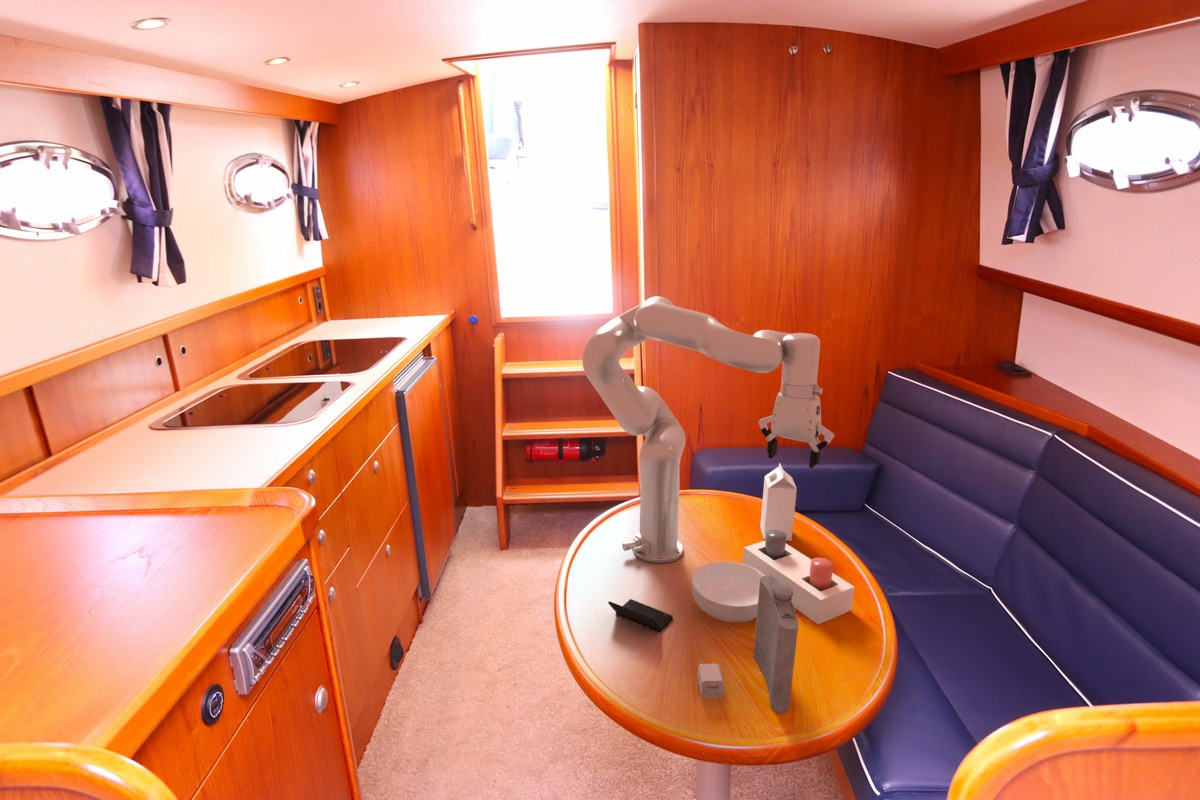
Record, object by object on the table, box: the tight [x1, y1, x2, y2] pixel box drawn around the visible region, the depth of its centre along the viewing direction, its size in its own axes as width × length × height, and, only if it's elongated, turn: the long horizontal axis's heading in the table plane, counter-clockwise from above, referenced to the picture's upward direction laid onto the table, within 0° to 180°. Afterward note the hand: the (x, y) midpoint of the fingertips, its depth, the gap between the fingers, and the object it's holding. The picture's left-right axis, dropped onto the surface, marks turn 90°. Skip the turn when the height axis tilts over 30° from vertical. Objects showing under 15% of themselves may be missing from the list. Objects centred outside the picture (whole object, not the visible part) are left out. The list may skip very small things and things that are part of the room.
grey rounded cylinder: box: [764, 530, 787, 560], centre depth 154 cm, size 5×5×6 cm
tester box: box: [742, 540, 855, 625], centre depth 150 cm, size 10×24×6 cm, turn 29°
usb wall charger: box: [696, 661, 725, 700], centre depth 121 cm, size 4×7×4 cm, turn 0°
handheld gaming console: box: [607, 598, 674, 634], centre depth 139 cm, size 12×7×10 cm
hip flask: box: [752, 576, 799, 715], centre depth 119 cm, size 16×4×20 cm, turn 1°
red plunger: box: [808, 557, 834, 591], centre depth 142 cm, size 5×5×6 cm
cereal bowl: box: [690, 560, 765, 623], centre depth 142 cm, size 17×17×7 cm
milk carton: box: [759, 462, 798, 542], centre depth 171 cm, size 7×7×19 cm
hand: (792, 461), depth 150 cm, fingers open, 9 cm apart
